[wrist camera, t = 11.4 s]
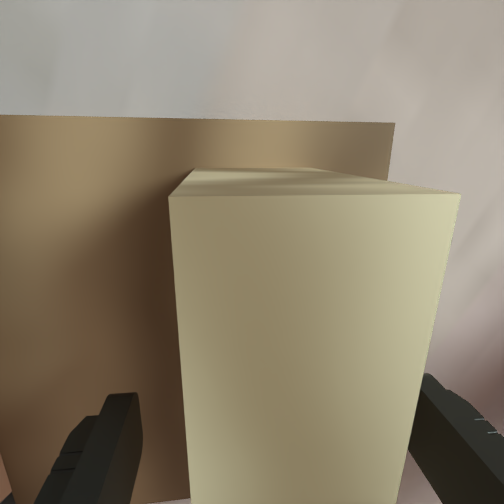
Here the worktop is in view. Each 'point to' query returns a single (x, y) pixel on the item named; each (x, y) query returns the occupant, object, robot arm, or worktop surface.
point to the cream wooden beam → (303, 329)
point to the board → (118, 270)
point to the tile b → (4, 482)
